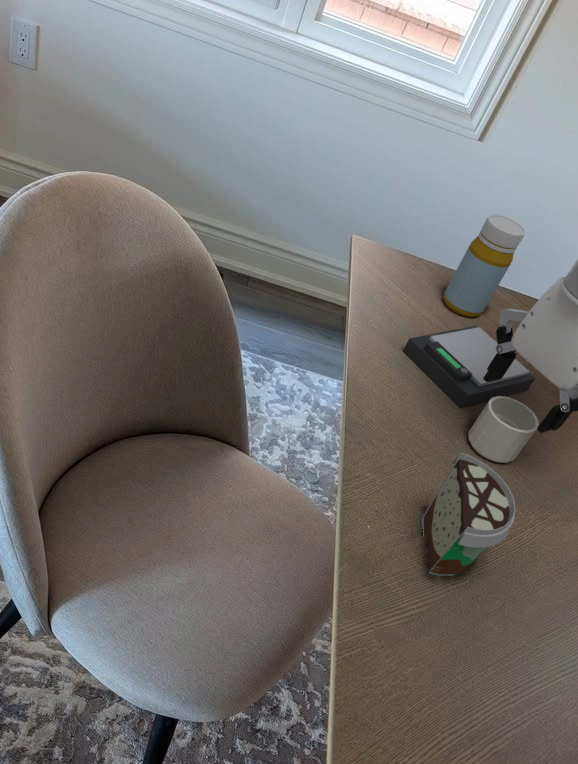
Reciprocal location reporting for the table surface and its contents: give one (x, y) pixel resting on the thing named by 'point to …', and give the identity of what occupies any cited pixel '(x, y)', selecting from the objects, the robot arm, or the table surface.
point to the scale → (465, 365)
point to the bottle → (483, 266)
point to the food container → (466, 515)
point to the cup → (502, 429)
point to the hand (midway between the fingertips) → (517, 403)
